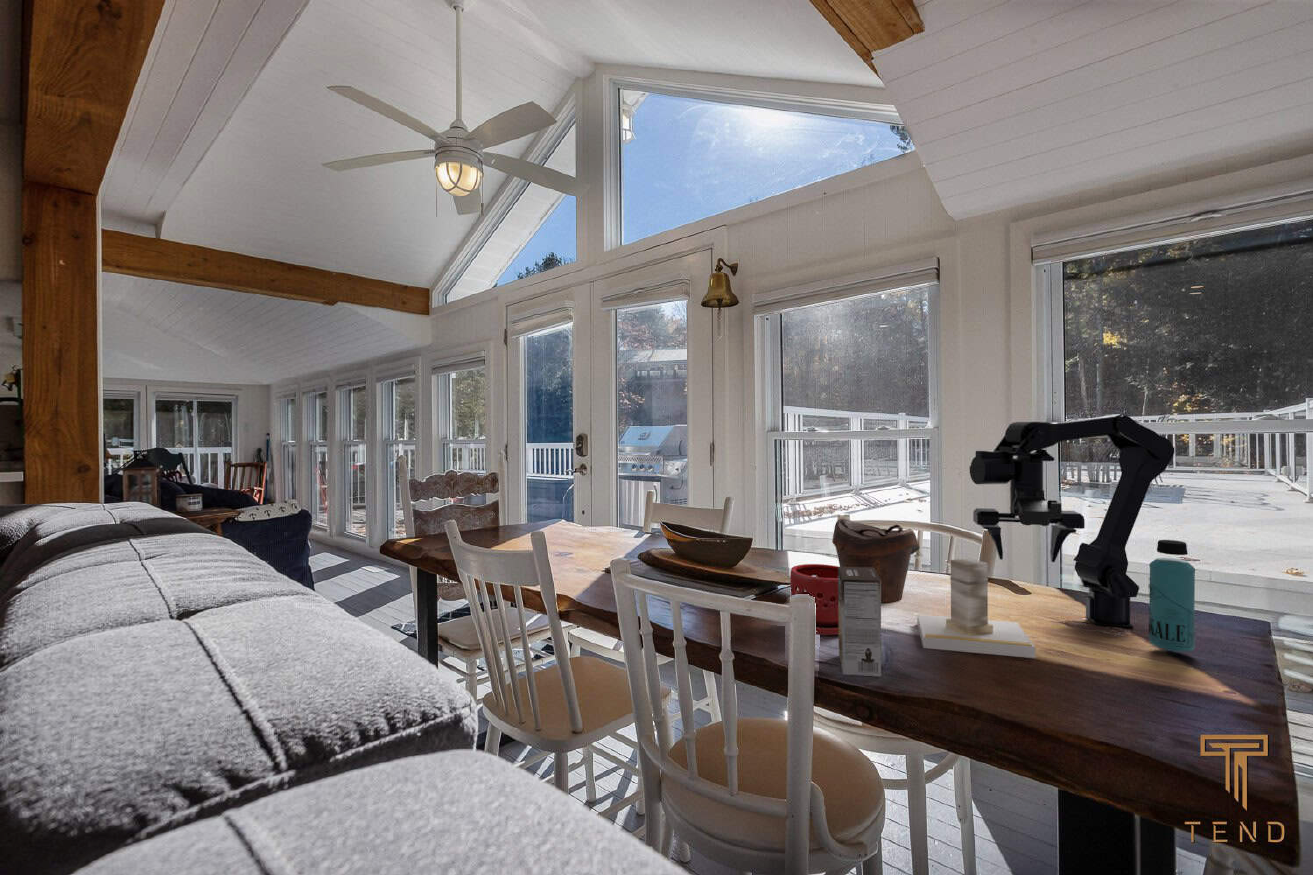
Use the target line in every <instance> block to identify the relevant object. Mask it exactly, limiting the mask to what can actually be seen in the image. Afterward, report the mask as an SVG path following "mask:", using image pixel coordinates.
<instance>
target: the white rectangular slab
mask: <svg viewBox="0 0 1313 875" xmlns="http://www.w3.org/2000/svg"><path fill="white" fill-rule="evenodd" d="M946 619H951V616H939V615H930V614H929V615H928V614H927V615H926V614H917V616H916V620H917V628H918V633H919V636H920V640H921V645H922V648H923V649H931V650H932V649H933V650H942V651H954V652H964V653H974V654H975V653H976V654H987V655H995V656H996V655H997V656H1005V657H1007V656H1008V657H1018V658H1026V659H1036V645H1035V644H1034V643H1033V641H1032V640H1031V639H1030V637H1029V636H1028V635H1027V634H1026V632H1025V631H1024V630H1023V628H1022V627H1021V626H1020V624H1019V623H1018V622H1016V621H1008V620H1007V621H1006V620H1005V621H1004V620H993V619H992V620H990V619H988V623H989V624H991V625H993V633H991V634H983V635H975V636H966V635H964V634H961V633H959V632H957V631H954V630H952V629H950V628H948V627H946Z"/></svg>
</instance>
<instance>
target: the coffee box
mask: <svg viewBox="0 0 1313 875" xmlns="http://www.w3.org/2000/svg"><path fill="white" fill-rule="evenodd" d="M838 619H839V634H838V655H839V660H840V665H841V671H842V674H843V675H845V676H846V675H847V676H866V677H876V678H877V677H882V602H881V580H880V578H879V576H878V574H877V572H876V570H875V568H874V567H840V566H838Z"/></svg>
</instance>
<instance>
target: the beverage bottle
mask: <svg viewBox="0 0 1313 875" xmlns="http://www.w3.org/2000/svg"><path fill="white" fill-rule="evenodd" d="M1156 546H1157V547H1156V552H1157V553H1160V554H1165V555H1174V556H1187V555H1188V546H1187V542H1185V541H1181V540H1173V539H1160V540H1157V545H1156ZM1148 566H1149V578H1148V580H1149V583H1148V591H1149V595H1148V597H1149V601H1148V603H1149V606H1148V608H1147V609H1148V612H1149V617H1148V639H1149V642H1150V644H1151V645H1152V646H1155V647H1158V648H1160V649H1165V650H1169V651H1175V652H1192V651H1194V650H1195V647H1196V643H1197V642H1196V633H1197V632H1196V614H1195V608H1196V607H1195V601H1196V600H1195V598H1196V597H1195V593H1196V589H1195V586H1196V585H1195V584H1196V577H1195V576H1196V568H1195V567H1194V566H1193V565H1192V564H1190V562H1189V561H1188V560H1184V559H1179V558H1173V557H1158V558H1156V559H1154V560H1153V561H1151V562H1150V563H1149V564H1148Z"/></svg>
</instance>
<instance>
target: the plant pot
mask: <svg viewBox="0 0 1313 875" xmlns="http://www.w3.org/2000/svg"><path fill="white" fill-rule="evenodd" d="M838 567H839V566H838V565H831V564H823V563H822V564H821V563H807V564H806V563H804V564H798V565H794V566H793V567H791V569H790V579H789V580H790V581H789V582H790V597H792V595H795V594H809V595H810V596H813V597H815V603H816V631H817V632H816V634H815V635H817V636H837V635H839V619H838Z"/></svg>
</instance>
